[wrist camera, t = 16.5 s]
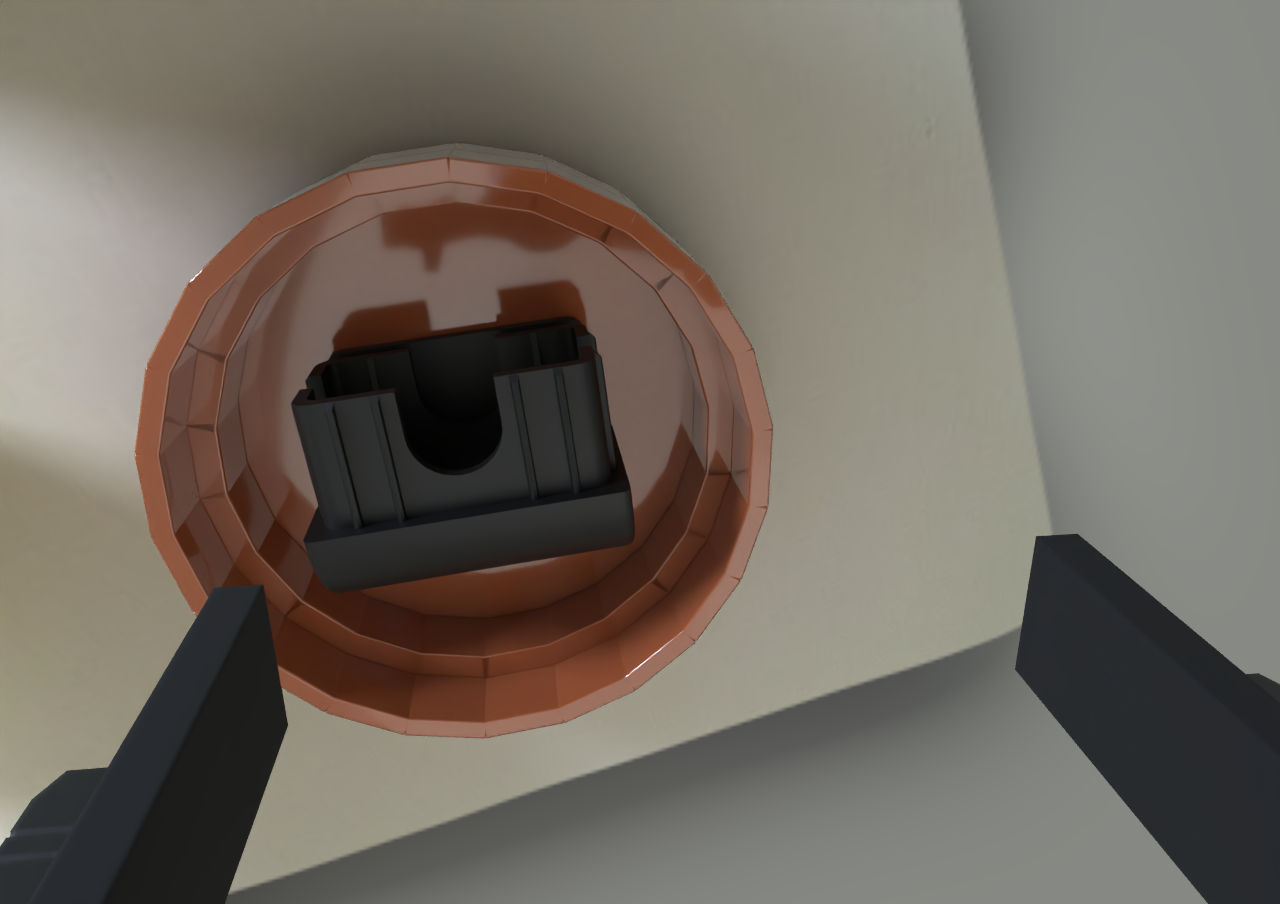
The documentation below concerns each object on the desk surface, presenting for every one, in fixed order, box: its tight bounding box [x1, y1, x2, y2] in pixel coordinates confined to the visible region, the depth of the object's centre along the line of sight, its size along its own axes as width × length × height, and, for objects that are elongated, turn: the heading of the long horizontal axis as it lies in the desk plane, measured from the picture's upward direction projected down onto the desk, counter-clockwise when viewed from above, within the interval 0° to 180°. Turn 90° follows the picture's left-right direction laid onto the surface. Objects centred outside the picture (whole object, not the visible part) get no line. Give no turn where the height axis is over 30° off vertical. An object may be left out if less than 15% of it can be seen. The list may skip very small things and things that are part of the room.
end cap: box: [291, 316, 635, 593], centre depth 32 cm, size 10×7×7 cm
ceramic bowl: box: [135, 143, 773, 738], centre depth 33 cm, size 19×20×6 cm
